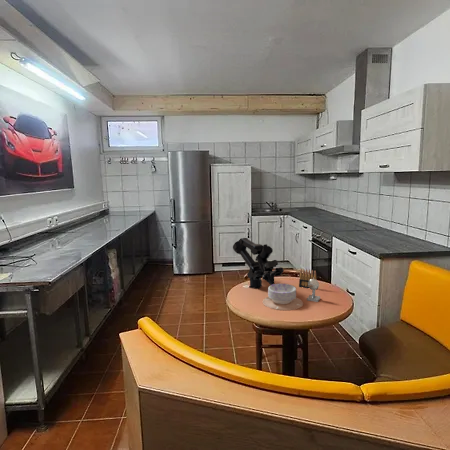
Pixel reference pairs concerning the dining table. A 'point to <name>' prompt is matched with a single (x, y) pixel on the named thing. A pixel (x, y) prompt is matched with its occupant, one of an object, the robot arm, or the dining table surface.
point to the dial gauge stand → (313, 290)
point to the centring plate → (292, 305)
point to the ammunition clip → (306, 278)
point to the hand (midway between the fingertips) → (273, 286)
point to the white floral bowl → (282, 293)
